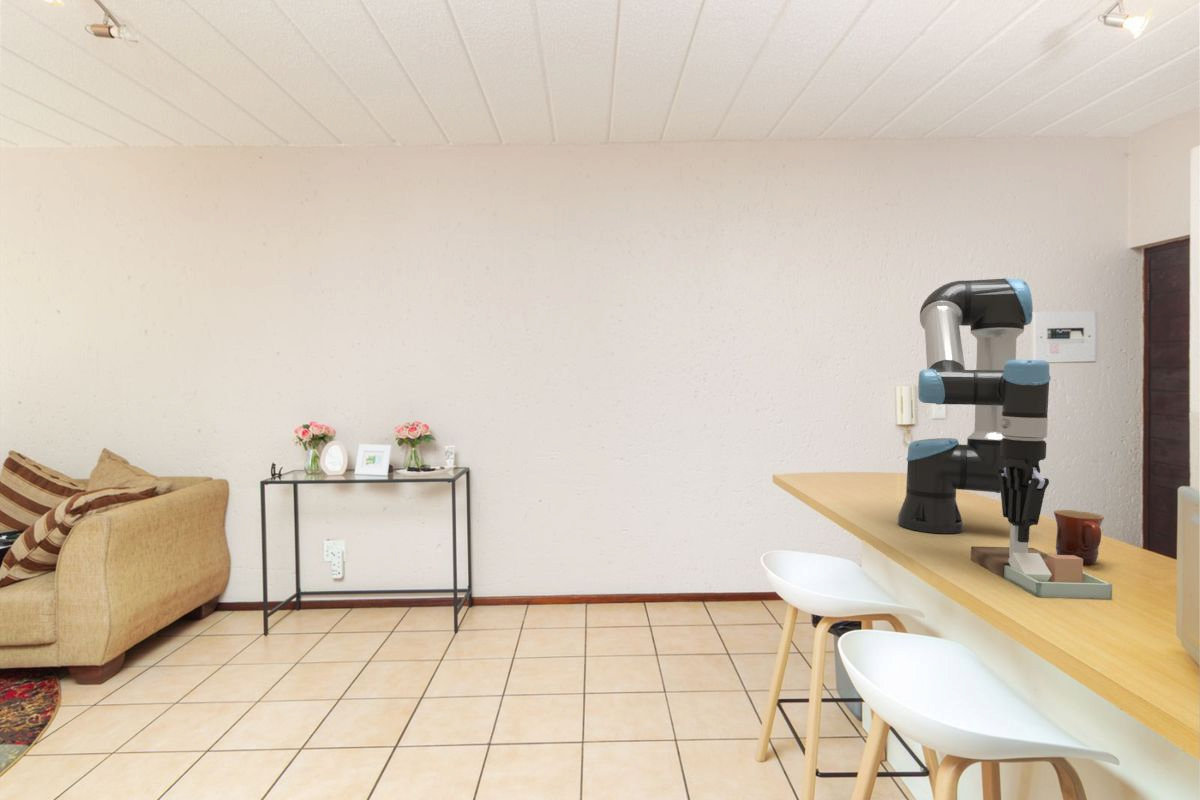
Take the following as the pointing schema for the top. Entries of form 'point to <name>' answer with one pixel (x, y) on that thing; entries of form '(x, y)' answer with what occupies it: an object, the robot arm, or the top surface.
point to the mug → (1078, 534)
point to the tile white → (1030, 565)
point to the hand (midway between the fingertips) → (1018, 556)
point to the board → (997, 557)
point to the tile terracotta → (1065, 568)
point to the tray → (1060, 586)
